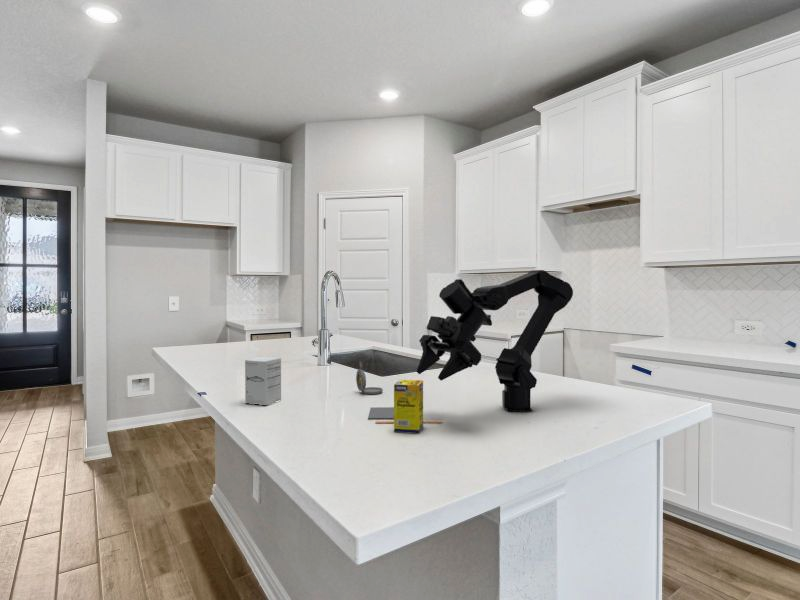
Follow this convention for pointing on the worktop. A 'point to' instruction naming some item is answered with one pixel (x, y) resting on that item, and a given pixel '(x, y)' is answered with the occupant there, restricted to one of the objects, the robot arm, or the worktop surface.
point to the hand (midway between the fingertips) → (428, 375)
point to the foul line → (393, 422)
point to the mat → (381, 413)
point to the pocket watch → (362, 383)
